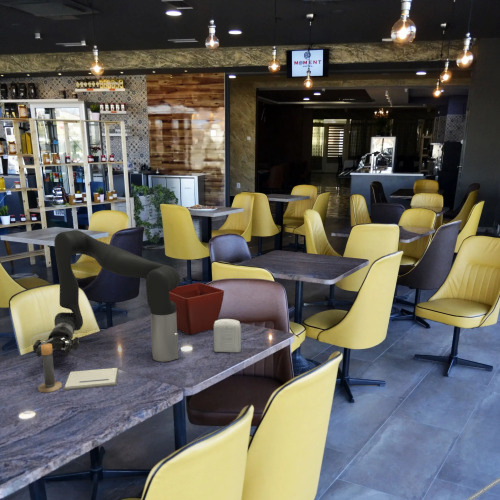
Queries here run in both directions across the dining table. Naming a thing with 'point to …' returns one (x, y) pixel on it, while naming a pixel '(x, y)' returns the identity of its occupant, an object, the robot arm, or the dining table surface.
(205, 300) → the plant pot
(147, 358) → the dining table surface
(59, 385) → the coaster
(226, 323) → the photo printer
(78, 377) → the notepad
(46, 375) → the marker
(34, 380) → the dining table surface
